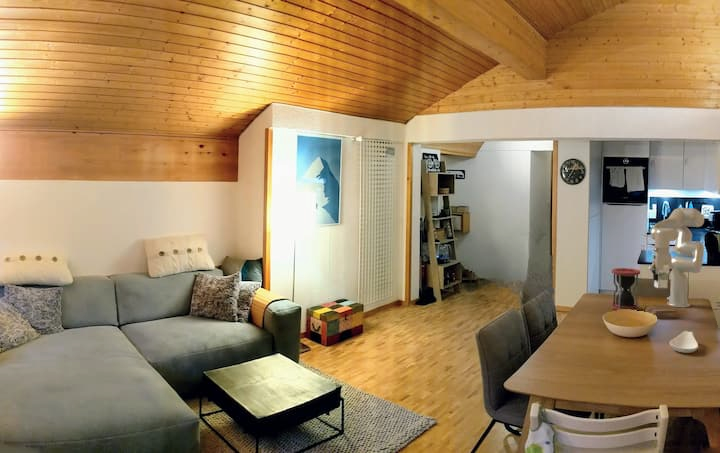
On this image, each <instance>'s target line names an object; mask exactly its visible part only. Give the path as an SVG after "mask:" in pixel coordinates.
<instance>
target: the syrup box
mask: <svg viewBox="0 0 720 453" xmlns="http://www.w3.org/2000/svg"><path fill="white" fill-rule="evenodd" d="M657 274H658V281H655V280H653V287H655V288H657V289H668V288H669V280H668V276H669V277H670V274H669V265H663V270H658V273H657Z"/></svg>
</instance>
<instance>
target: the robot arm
mask: <svg viewBox="0 0 720 453" xmlns="http://www.w3.org/2000/svg"><path fill="white" fill-rule="evenodd" d="M704 223H705V217H704V215H703V213H701V211H699V210H698V209H696V208H690V207H689V208H688V207H687V208H685V207H684V208H683V207H678V208H675V209H674V210H673V211H672V212H671V213H670V215H669V216H668V218H667V219H663V220H660V221H658V222H657V223H655V224H654V225H653V226H652V228H651V231H650V238H651V239H652V240H654V248H653V251H654V252H653V255H652V264H650V265H649V267H648V269H649V270H650V272H651V273H652V277H653V278H652V279H653V281H654V280H655V281H658V274H657V273H658V270H663V265H669V276H668V281H669V280H670V288H669V289H670V290H669V291H670V292H669V296H667V297H666V300H668V301H667V305H668V306H670V307H674V308H675V307H676V308H689V307H690V306H691V304H690V303H689V302H688V296H689V295H688V291H689V289H688V287H689V278H688V276H687V275H686V273H688V274H689V273H691V274H699V273H700V272H701V270H702V265H703V258H704V253H705V247H704V244H703V242H700V241H693V234H692V232H691V230H690V229H689V228H688V227H691V228H692V227H693V228H695V227H696V228H699V227H702V226H703V225H704ZM673 241H675V245H674V253H675V254H676V255H678V256H672V254H671V253H672V252H670V243H671V242H673Z"/></svg>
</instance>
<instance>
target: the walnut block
mask: <svg viewBox="0 0 720 453" xmlns="http://www.w3.org/2000/svg"><path fill="white" fill-rule="evenodd" d="M645 311H646V312H649V313H652V314H654V315H656V316H657V318H658V319H657V320H663V319H664V320H669V319H670V320H671V319H672V320H674V319H677V310H676V309H673V308H671V307H669V306H666V305H645V306H644V312H645Z"/></svg>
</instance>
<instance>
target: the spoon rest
mask: <svg viewBox="0 0 720 453" xmlns="http://www.w3.org/2000/svg"><path fill="white" fill-rule="evenodd" d="M669 345H670V347H671V349H673V350H675V351H676V352H678V353H684V354H691V353H694V352H695V351H696V350H698V348H699V343H698V341H697V340H696V338H695V334H694V332H693V331H688V330H684V331H683V332H681V333H680V334H679V335H678V336H676V337H674V338H672V339H671V340H670V341H669Z"/></svg>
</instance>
